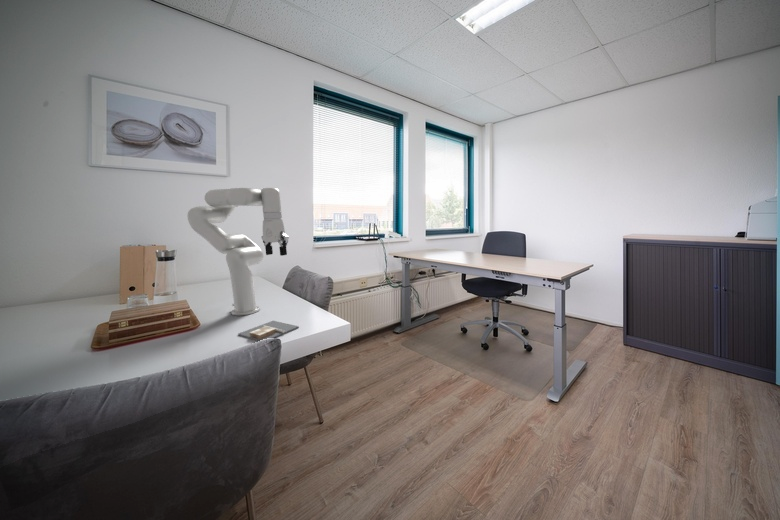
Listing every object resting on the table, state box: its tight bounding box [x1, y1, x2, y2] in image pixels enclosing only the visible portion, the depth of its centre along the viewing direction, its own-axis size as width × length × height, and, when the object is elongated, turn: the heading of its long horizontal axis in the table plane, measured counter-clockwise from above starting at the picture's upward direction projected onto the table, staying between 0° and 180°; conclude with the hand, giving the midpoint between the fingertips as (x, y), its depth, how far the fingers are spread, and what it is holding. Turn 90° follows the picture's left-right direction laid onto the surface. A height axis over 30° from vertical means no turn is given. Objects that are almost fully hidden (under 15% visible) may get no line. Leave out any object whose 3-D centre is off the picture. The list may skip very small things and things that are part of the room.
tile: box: [250, 326, 276, 339], centre depth 112 cm, size 6×2×7 cm
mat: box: [237, 320, 300, 342], centre depth 117 cm, size 16×16×2 cm
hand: (276, 254), depth 133 cm, fingers open, 9 cm apart
